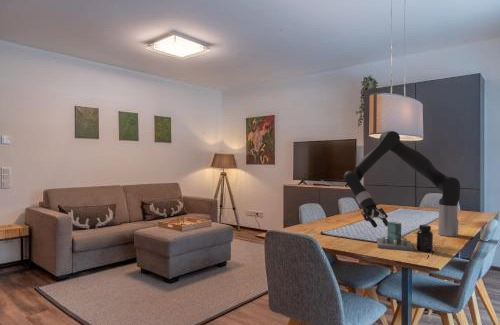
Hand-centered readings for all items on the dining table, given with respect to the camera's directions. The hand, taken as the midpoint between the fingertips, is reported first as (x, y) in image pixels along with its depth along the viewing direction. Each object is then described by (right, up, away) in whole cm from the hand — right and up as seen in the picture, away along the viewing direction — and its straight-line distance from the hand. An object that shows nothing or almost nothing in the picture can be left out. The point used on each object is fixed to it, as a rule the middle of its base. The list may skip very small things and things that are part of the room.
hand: (382, 226), depth 178 cm
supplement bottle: (+15, -9, -15) cm, 23 cm away
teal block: (+4, -7, -7) cm, 10 cm away
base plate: (+4, -9, -7) cm, 11 cm away
